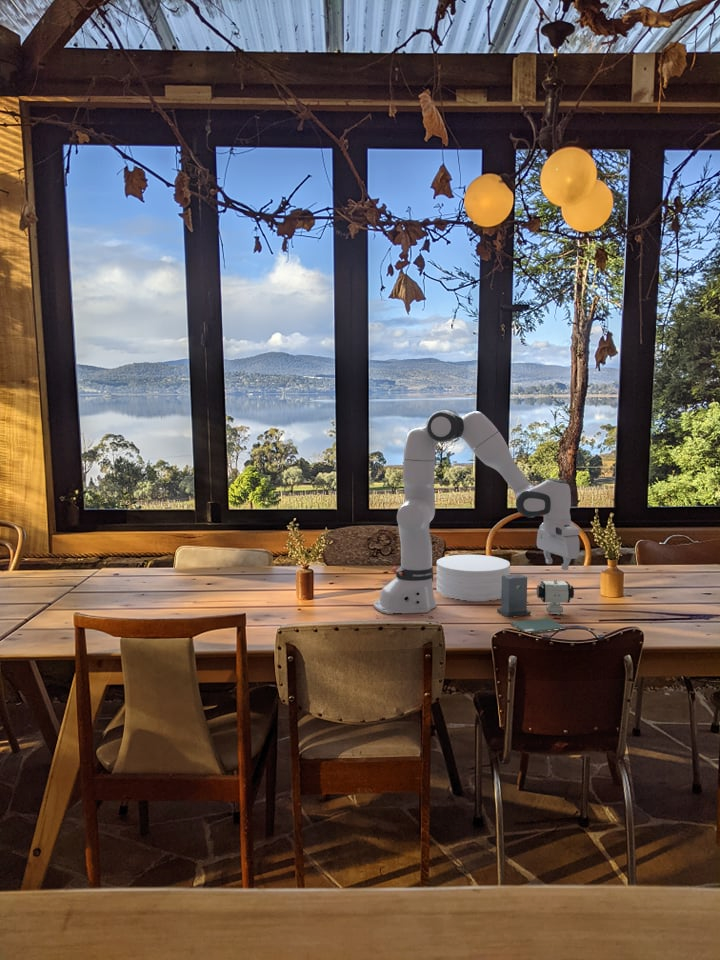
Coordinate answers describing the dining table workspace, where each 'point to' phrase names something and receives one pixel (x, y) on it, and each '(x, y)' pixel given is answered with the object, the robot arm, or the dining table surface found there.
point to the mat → (537, 625)
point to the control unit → (514, 596)
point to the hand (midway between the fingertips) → (556, 566)
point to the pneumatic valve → (555, 594)
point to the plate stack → (471, 577)
